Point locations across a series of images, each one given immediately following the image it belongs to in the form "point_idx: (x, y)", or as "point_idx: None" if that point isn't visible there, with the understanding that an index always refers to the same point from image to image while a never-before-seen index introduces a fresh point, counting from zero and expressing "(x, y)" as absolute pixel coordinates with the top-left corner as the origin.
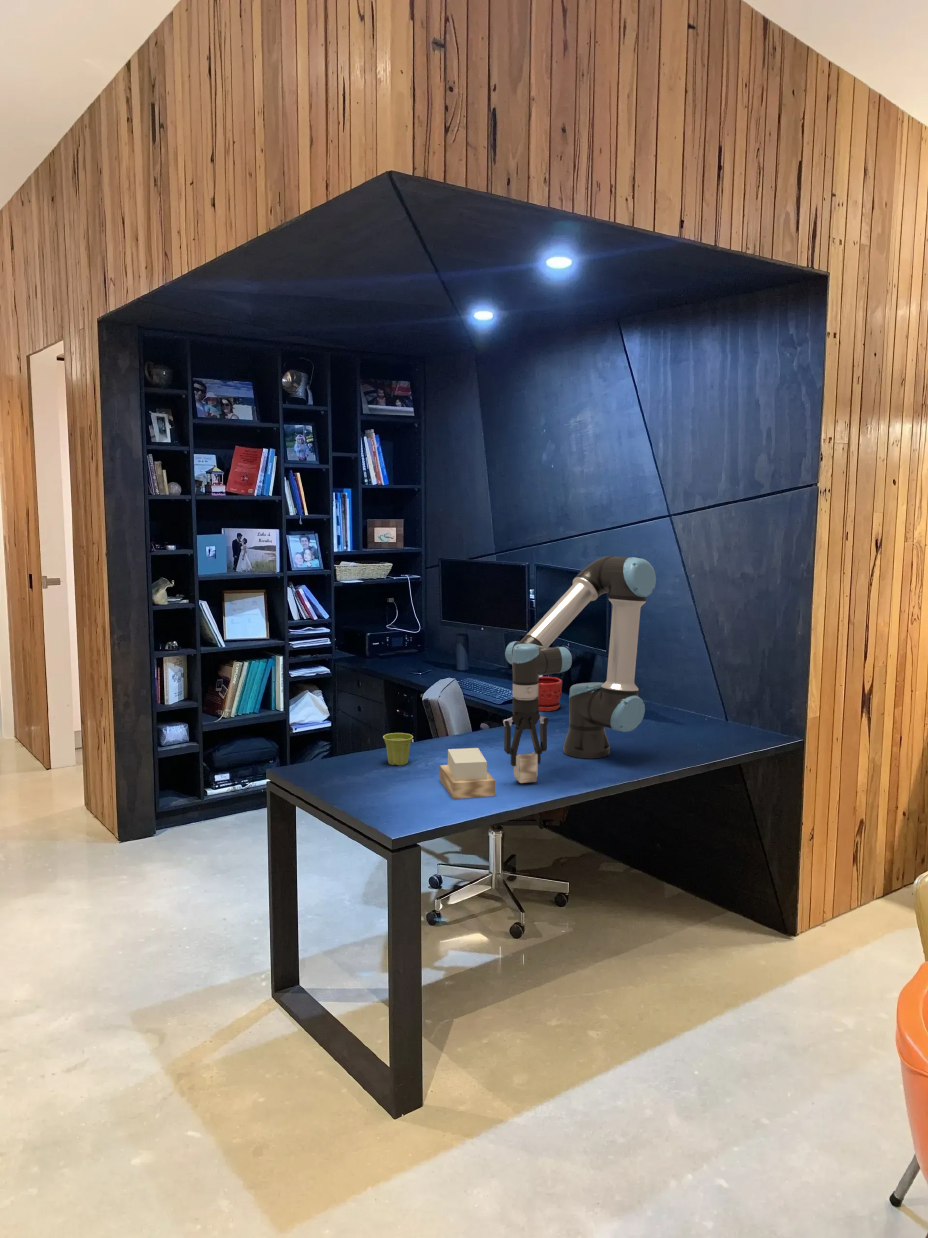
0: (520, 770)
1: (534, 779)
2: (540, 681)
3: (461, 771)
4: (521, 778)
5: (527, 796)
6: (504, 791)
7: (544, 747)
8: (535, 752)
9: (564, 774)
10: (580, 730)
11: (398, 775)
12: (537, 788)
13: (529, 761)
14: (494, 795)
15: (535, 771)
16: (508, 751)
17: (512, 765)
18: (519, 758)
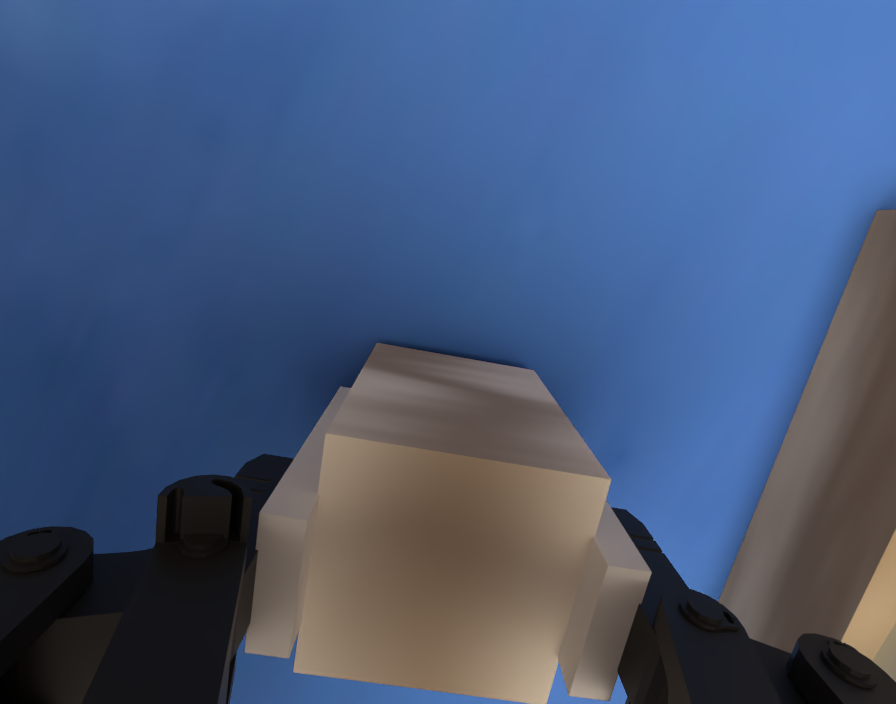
0: (559, 413)
1: (395, 350)
2: None
3: None
4: (528, 381)
5: (636, 54)
6: (730, 288)
7: (15, 587)
8: (250, 609)
9: (23, 483)
10: None
11: None
12: (425, 236)
13: (449, 436)
14: (885, 212)
15: (375, 371)
16: (874, 674)
17: (632, 517)
18: (588, 532)
